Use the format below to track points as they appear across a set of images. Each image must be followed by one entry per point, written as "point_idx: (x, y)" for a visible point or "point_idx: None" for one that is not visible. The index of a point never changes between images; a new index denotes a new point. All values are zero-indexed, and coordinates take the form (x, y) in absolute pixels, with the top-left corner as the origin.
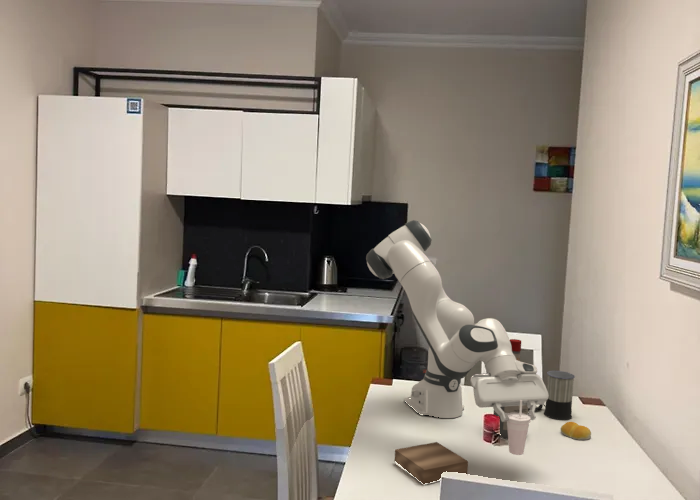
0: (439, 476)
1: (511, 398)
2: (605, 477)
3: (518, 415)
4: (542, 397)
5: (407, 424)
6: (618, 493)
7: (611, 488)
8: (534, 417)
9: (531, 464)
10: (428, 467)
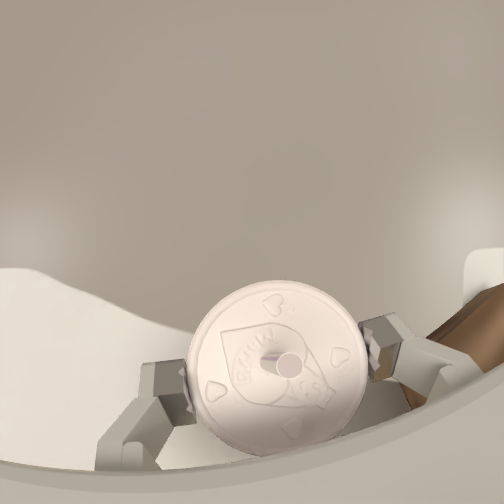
0: (463, 311)
1: (377, 442)
2: (5, 358)
3: (278, 377)
4: (11, 472)
5: None
6: (17, 272)
7: (18, 298)
8: (153, 363)
9: (165, 459)
10: (498, 299)
